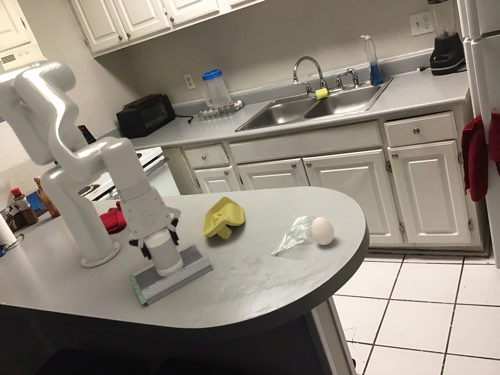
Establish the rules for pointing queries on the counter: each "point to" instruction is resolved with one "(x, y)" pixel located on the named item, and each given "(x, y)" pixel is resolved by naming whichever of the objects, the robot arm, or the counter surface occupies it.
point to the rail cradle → (170, 276)
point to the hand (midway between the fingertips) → (162, 250)
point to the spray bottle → (163, 252)
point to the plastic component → (222, 218)
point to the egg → (322, 231)
